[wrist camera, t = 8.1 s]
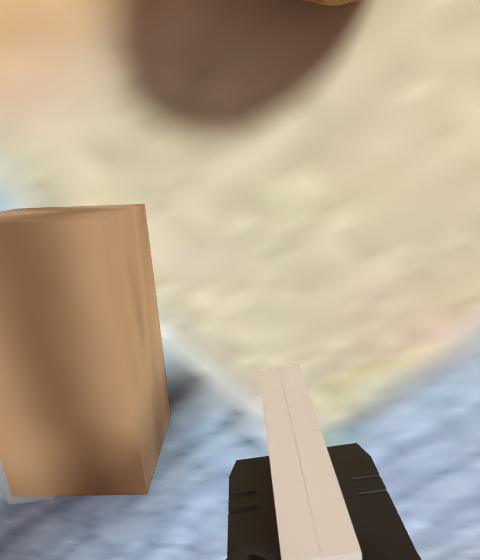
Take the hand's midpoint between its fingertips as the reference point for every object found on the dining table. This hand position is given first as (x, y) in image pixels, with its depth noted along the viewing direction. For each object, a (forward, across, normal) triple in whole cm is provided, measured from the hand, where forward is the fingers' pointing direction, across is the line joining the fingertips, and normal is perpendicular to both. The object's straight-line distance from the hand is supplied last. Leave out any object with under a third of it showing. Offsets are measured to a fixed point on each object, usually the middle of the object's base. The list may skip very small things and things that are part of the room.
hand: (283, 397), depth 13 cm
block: (+8, -10, +1) cm, 13 cm away
